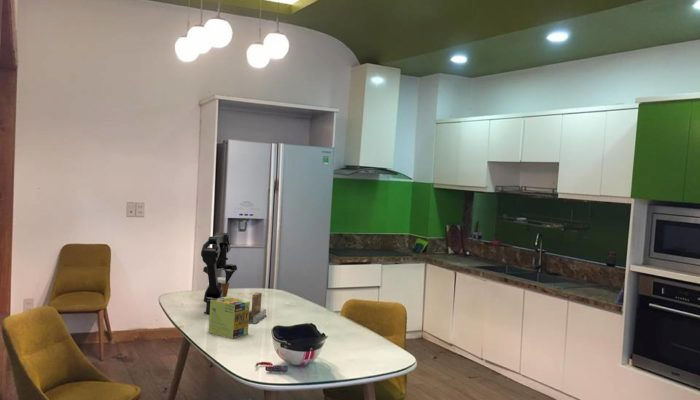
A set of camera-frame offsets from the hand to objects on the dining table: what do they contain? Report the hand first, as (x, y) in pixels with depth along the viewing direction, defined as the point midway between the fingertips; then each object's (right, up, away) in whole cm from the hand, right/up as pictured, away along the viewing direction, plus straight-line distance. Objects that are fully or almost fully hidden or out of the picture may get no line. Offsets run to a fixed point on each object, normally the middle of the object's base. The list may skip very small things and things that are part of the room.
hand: (219, 284), depth 315 cm
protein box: (+15, -16, -47) cm, 52 cm away
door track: (+22, -15, -19) cm, 32 cm away
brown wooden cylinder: (-4, -12, +23) cm, 26 cm away
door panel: (+22, -15, -16) cm, 31 cm away
